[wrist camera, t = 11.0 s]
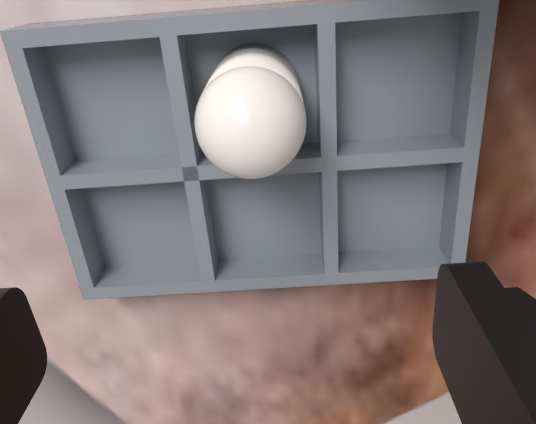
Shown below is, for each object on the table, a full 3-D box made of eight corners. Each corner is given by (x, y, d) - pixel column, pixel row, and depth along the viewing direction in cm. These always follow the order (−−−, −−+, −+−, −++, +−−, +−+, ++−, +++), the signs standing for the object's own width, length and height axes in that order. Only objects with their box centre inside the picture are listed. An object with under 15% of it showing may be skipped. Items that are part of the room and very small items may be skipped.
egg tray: (476, -14, 24) (500, -11, 21) (447, 251, 31) (463, 277, 28) (27, 24, 25) (-1, 31, 22) (98, 272, 31) (83, 299, 29)
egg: (297, 39, 24) (307, 73, 17) (301, 128, 26) (312, 193, 19) (205, 47, 24) (176, 83, 17) (217, 134, 26) (195, 201, 19)
